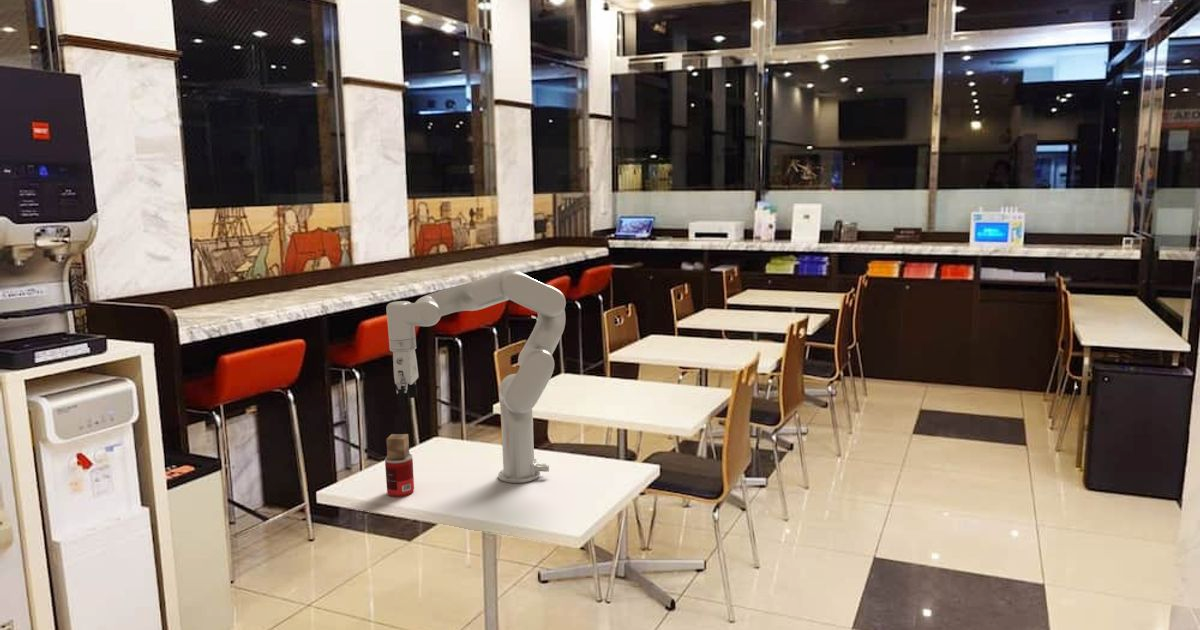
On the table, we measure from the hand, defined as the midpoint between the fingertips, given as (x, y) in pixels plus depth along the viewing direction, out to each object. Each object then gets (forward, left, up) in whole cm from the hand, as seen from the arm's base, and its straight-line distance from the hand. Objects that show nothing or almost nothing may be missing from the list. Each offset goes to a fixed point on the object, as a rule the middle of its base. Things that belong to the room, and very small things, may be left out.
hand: (407, 401), depth 250 cm
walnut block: (+3, +4, -15) cm, 16 cm away
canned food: (+3, +4, -27) cm, 27 cm away
